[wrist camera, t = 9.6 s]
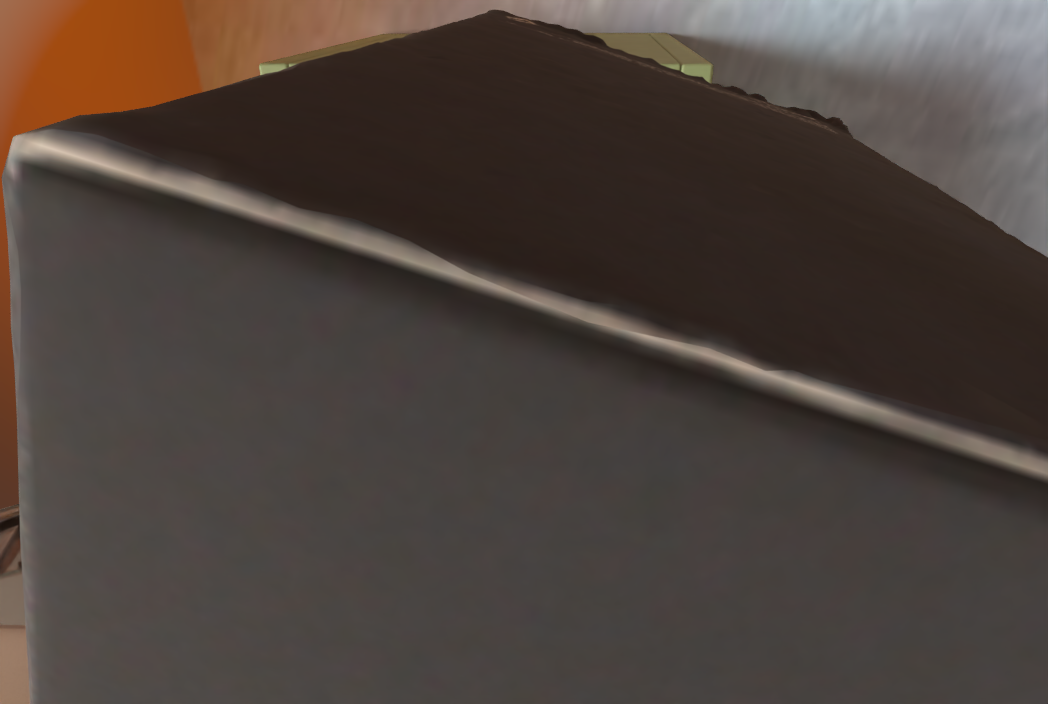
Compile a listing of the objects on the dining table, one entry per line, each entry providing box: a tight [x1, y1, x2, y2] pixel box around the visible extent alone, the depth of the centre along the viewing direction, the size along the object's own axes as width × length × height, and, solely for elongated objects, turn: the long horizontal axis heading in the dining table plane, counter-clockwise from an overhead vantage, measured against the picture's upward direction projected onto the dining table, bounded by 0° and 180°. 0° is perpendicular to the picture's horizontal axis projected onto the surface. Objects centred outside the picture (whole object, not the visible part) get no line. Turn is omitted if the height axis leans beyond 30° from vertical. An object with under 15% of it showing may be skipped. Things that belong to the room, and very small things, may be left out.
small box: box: [2, 10, 1048, 704], centre depth 9 cm, size 11×6×10 cm, turn 163°
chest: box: [259, 33, 713, 84], centre depth 27 cm, size 16×12×12 cm
